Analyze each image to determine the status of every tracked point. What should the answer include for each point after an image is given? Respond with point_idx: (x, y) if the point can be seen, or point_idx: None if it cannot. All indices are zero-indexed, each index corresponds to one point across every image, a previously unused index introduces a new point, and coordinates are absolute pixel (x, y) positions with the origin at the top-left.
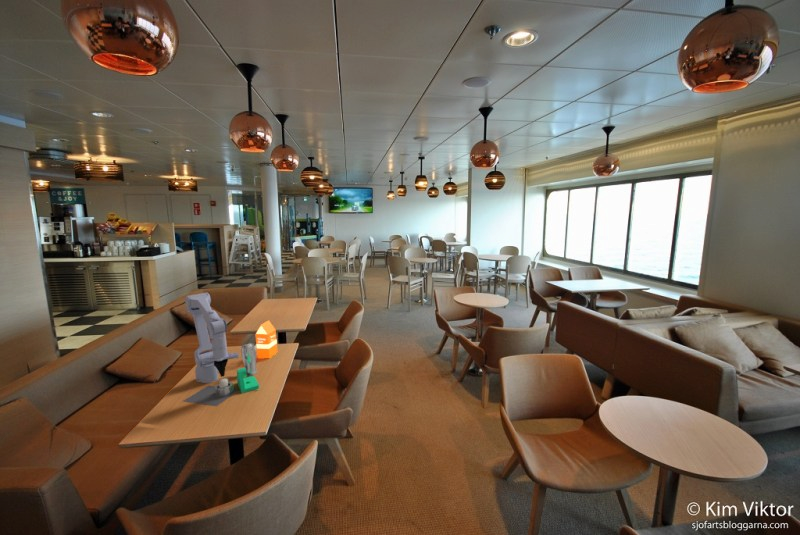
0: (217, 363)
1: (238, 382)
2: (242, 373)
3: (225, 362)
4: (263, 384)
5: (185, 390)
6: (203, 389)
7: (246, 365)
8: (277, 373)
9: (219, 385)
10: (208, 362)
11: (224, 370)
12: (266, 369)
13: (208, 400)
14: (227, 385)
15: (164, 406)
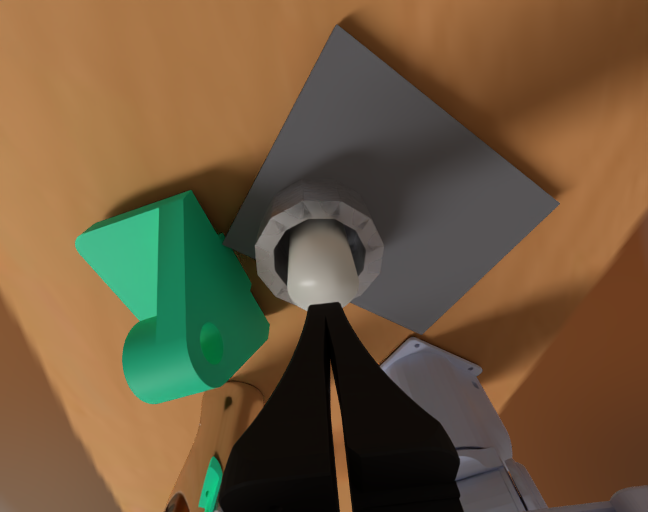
0: (397, 470)
1: (240, 302)
2: (156, 333)
3: (240, 479)
4: (101, 283)
5: (523, 325)
6: (445, 302)
7: (233, 443)
8: (76, 374)
9: (348, 251)
10: (556, 509)
11: (295, 352)
12: (164, 414)
13: (408, 155)
14: (290, 250)
15: (643, 193)
